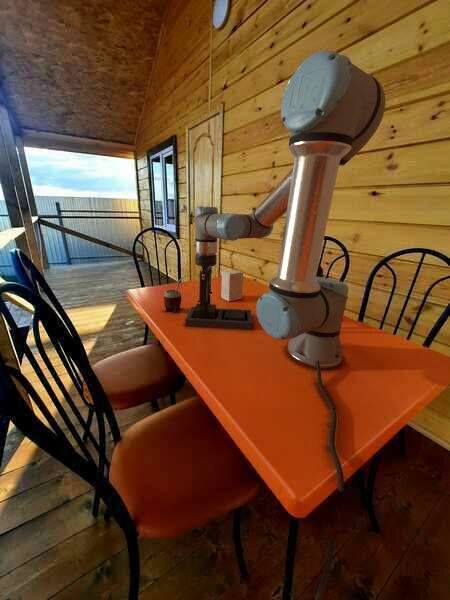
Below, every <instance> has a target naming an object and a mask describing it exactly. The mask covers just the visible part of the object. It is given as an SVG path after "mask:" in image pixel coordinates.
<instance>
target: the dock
mask: <svg viewBox="0 0 450 600" xmlns="http://www.w3.org/2000/svg"><path fill="white" fill-rule="evenodd" d="M195 307H196V306H192V307H191V308H190V310H189V311H188V314H187V316H186V318H185V327H197V328H199V327H201V328H218V329H234V330H239V329H240V330H250V331H251V330H253V316H252V310H251V309H239V308H238V309H237V308H236V309H235V308H233V309H232V308H217V307H216V313H215V316H217V317H216V319H215V318H214V319H200V318H194V309H195ZM225 310H237V311H244V313H245V318H246V320H245V321H234V320H224V319H223V318H224V315H225Z"/></svg>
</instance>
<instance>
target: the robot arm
mask: <svg viewBox="0 0 450 600" xmlns="http://www.w3.org/2000/svg"><path fill="white" fill-rule="evenodd" d="M385 111H386V93H385V91H384V87H383V85H382V83H381V82H380V81H379V80H378V79H377V78H376V77H374V76H373V75H371V74H369V73H368V72H366V71H364V70H362V68H360V67H358V66H357V65H355V64H354V63H352V61H351V59H350V58H349V57H348V56H346V55H345V54H339V53H338V52H336V51H333V50H330V49H324V50H320V51H317V52H315V53H313V54H311V55H310V56H309V57H307V58H306V59H305V60H303V62H302V63H301V64H300V65H299V66H298V67H297V68H296V70H295V72H294V74H293V75H291V77H290V79H289V81H288V82H287V85H286V87H285V89H284V92H283V95H282V99H281V104H280V118H281V121H282V122H283V125H284V127H285V129H286V130H287V131H288V132H290V133H289V140H288V147H287V149H288V151H289V152H290V154H291V155H292V156H293V159H294V160H293V167H292V168H291V170H289V172H288V173H286V175H284V177H283V178H282V179H281V180H280V181H279V182H278V184H277V185H276V186H275V187H273V189H272V190H271V191H269V193H268V194H267V196H265V198H264V199H263V200H262V201H261V202H260V203H259V205H257V206H256V208H255V209H254V210H253V211H252V212H251V213H249V214H239V213H219V209H218V207H216V206H199V205H198V206H197V207H196V208H195V211H194V212H195V213H194V238H195V241H194V243H193V247H195V249H194V250H195V251H194V252H195V255H194V263H195V265H196V266H198V267H201V268H200V270H199V295H198V297H199V298H198V300H197V303H199V304H200V318H199V319H208V304H211V295H213V291H212V273H213V269H212V267H215V266H217V263H218V262H217V261H218V260H217V259H218V255H217V253H218V240H223V241H226V242H228V241H230V242H231V241H232V242H233V241H234V242H235V241H238V240H239V239H240V240H243V239H263V238H267V237H269V236H270V235H271V234H272V231H273V229H274V224H276V222H277V221H279V220H280V219H281V218H282V217H283V216H284V215H285V221H284V227H283V232H282V233H283V235H282V241H281V246H280V254H279V261H278V267H277V273H276V274H275V275H274V276H272V277H271V278H270V279H269V284H268V290H267V291H268V292H265V293H263V294H262V295H261V296H260V297H259V298H258V299H257V302H256V307H255V309H256V310H255V311H256V317H257V321H258V322H259V324H260V326H261V328H262V330H264V332H265V333H266V334H267V335H268V336H269V337H271V338H273V339H275V340H278V341H286V340H288V343H287V349H286V351H287V354H288V356H289V357H290V358H291V359H292V360H294V361H295V362H296V363H298V364H301V365H303V366H305V367H309V368H313V369H316V374H317V375H316V376H317V383H318V387H319V390H320V391H321V393H322V395H323V397H324V398H325V400H326V402H327V403H328V406H329V408H330V412H331V425H330V430H329V431H330V432H329V450H330V454H331V458H332V460H333V463H334V466H335V471H336V477H337V489H338V491H339V492H340V493H345V480H344V479H345V478H344V472H343V468H342V464H341V461H340V459H339V456H338V453H337V450H336V446H335V445H336V444H335V441H336V439H335V438H336V437H335V436H336V431H337V423H338V418H337V411H336V408H335V405H334V403H333V401H332V399H331V398H330V396H329V395H328V393H327V392H326V390H325V387H324V385H323V382H322V381H323V380H322V371H321V370H329V369H334V368H338V367H339V366H340V365H341V363H342V359H343V349H342V343H341V337H340V335H341V330H342V325H343V320H344V317H345V316H344V315H345V311H346V306H347V301H348V299H349V296H348V295H349V286H348V284H347V283H346V282H344V281H340V280H337V279H332V278H327V277H316V274H317V269H318V264H319V265H320V260H321V253H322V249H323V245H324V241H325V235H326V230H327V225H328V221H329V216H330V211H331V206H332V201H333V197H334V193H335V192H334V191H335V186H336V183H337V182H336V181H337V178H338V173H339V168H340V167H343V166H345V165H346V164H347V163H348V162H349V161H351V160H352V159H353V158H354V157H356V155H357V154H358V153H359V152H360V151H362V149H363V148H364V147H365V146H366V145H367V144H368V143H369V142H370V140H371V139H372V138H373V136H374V135H375V134H376V132H377V130H378V129H379V127H380V125H381V123H382V120H383V118H384V115H385ZM336 544H337V539H334V538H329V543H328V548H327V552H326V557H325V562H324V566H323V570H322V574H321V577H320V581H319V584H318V588H317V591H316V594H315V597H314V600H322V597H323V595H324V590H325V587H326V584H327V581H328V579H329V578H328V577H329V574H330V570H331V566H332V562H333V557H334V553H335V548H336Z"/></svg>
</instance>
